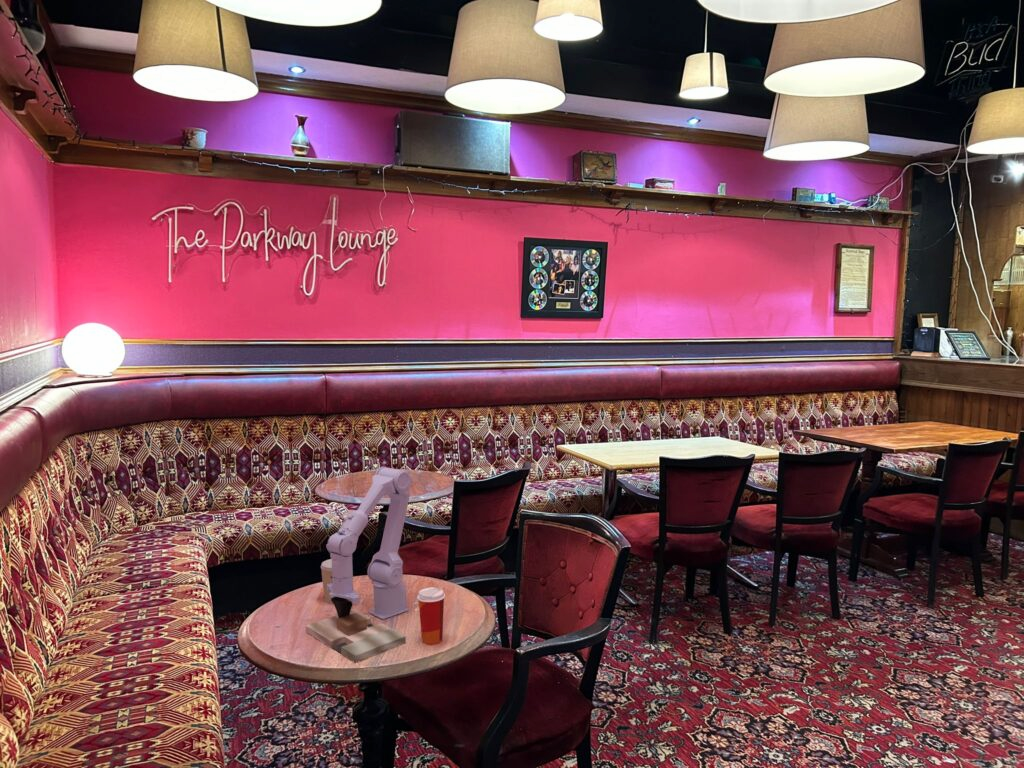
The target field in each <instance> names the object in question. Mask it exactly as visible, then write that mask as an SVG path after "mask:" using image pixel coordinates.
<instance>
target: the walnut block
mask: <svg viewBox="0 0 1024 768" xmlns="http://www.w3.org/2000/svg"><path fill="white" fill-rule="evenodd" d="M366 629H367V619H366V618H364V617H362V616H360V615H358V614H356V613H353V614H350V615H347V616H344V617H341V618H338V619H337V630H339V631H341V632H342V633H344V634H346V635H348V636H350V635H353V634H355V633H358V632H361V631H364V630H366Z"/></svg>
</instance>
